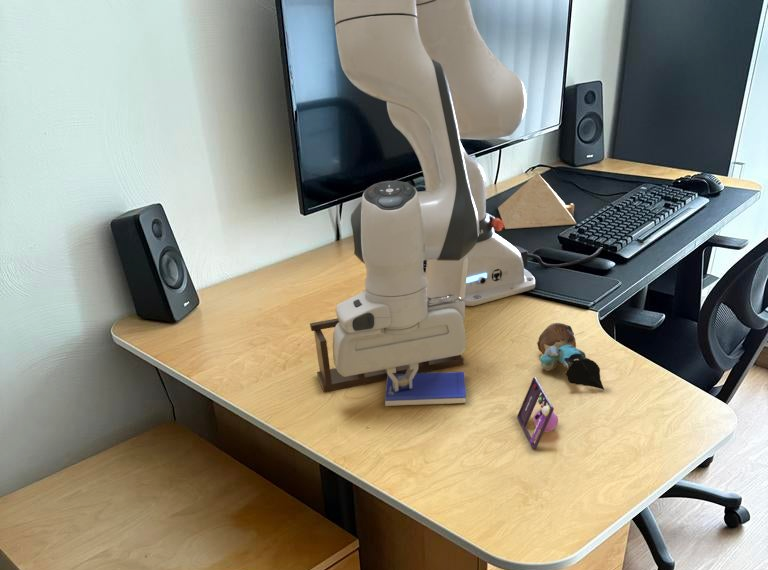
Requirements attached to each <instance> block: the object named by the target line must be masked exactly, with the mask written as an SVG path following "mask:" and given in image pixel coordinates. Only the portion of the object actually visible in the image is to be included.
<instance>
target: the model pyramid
mask: <svg viewBox="0 0 768 570" xmlns="http://www.w3.org/2000/svg"><path fill="white" fill-rule="evenodd" d="M497 210H498V213H499V215H500V219H501V220H502V222H504V223H503V224H504V229H505V230H511V229H524V228H525V229H527V228H541V227H554V226H569V225H577V222H576V220H575V219H574V213H575V204H574V203H573V202H572V203H570V204H566V203H565V202H564V200H562V199H561V197H560V196H559V195H558V194H557V192H556V191H555V190H554V189H553V188H552V187H551V186H550V184H549V183H548V182H547V181H546V180H545V178H543V177H542V176H541V174H540V173H539V172H537V173H535V174H534V176H532V177H531V178H530V179H528V180H527V181H526V182H525V183H524V184H522V186H521V187H519V189H517V190H516V191H515V192H514V193H513V194H512V195H511V196H509V197H508V198H507V199H506V200H505V201H504V202H503V203H502V204H500V205H499V206H498V207H497Z"/></svg>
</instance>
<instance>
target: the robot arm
mask: <svg viewBox="0 0 768 570" xmlns="http://www.w3.org/2000/svg"><path fill="white" fill-rule="evenodd" d="M333 15H334V16H333V17H334V29H335V37H336V38H335V39H336V46H337V52H338V56H339V61H340V66H341V69H342V71H343V73H344V74H345V76H346V77H347V79H348V80H349V81H350V83H351V84H352V85H353V86H354V87H356V88H357V89H358V90H360V91H361V92H363V93H364V94H365V95H368V96H370V97H372V98H375V99H378V100H381V101H383V102H386V110H387V113H388V117H389V120H390V122H391V123H392V125H393V126H394V127H395V129H397V130H398V131H399V132H400V133H401V134H402V135H403V137H405V139H406V140H407V141H408V143H409V144H410V146H411V147H412V149H413V151H414V154H415V155H416V157H417V159H418V161H419V165H420V167H421V171H422V175H423V178H424V186H425V189H424V190H422V191H418V190H417V189H416V188H415V187H414V186H413V184H410V183H408V182H406V181H401V180H385V181H380V182H377V183H374V184H372V185H370V186H368V187H367V188H366V189H365V190H364V192H363V193H362V196H361V201H360V202H359V203H358V205H357V206H356V207H355V208H354V210H353V211H352V213H351V215H350V225H351V229H352V230H351V231H352V237H353V238H352V239H353V247H354V248H353V249H354V250H353V254H354V256H356V257H357V259H359V261H360V262H362V264H364V265H365V270H366V271H365V272H366V276H365V281H364V290H362V291H360V292H359V293H357V294H354V295H353V296H351V297H349V298H347V299H345V300H344V301H341V302H339V303H338V304H336V307H335V313H336V314H335V315H336V318H338V321H339V322H338V323H337V325H336V326H335V327H334V328H333V333H332V334H333V335H332V354H333V355H332V357H333V365H334V367H335V368H336V370H337V371H338V373H340V374H341V375H342V376H344V377H347V376H352V375H357V374H362V373H368V372H373V371H378V370H383V369H385V371H386V373H387V374H388V376H389V377H390V378H391V379H392V386H393V389H394V391H395V392H398V391H402V390H408V389H412V379H413V378H414V376H415V374H416V373H417V371H418V369H419V366H418V363H420V362H426V361H431V360H436V359H441V358H447V357H452V356H457V355H461V356H462V355H463V354H464V352H465V351H466V349H467V335H466V330H465V324H464V319H465V317H466V306H468V307H474V306H478V305H482V304H485V303H488V302H493V301H497V300H500V299H503V298H507V297H511V296H514V295H518V294H522V293H524V292H529V291H531V290H535V288H536V279H535V277H534V275H533V273H531V272H530V271H529V270H527V269H526V267H528V258H532V259H534V260H536V261H537V263H538V264H539V266H540V267H543V268H558V267H570V266H575V265H578V264H581V263H584V262H587V261H590V260H592V259H595V258H597V256H599V255H600V254H601V252H602V251H603V250H605V249H606V248H603V247H601V246H600V247H599V248H598V249H597V250H596V251H595V252H594V253H593V254H591V255H589V256H586V257H582V258H579V259H576V260H573V261H570V262H565V263H559V264H557V263H556V264H553V263H552V264H551V263H547V262H546V263H545V262H543V261H542V259H541V257H540V256H539V255H537V254H534V253H528V250H526V249H524V248H522V247H520V246H518V245H513V244H511V243H510V242H509V241H507V240H506V239H505V238H503V237H502V236H500V235H499V234H497V233H496V232H501V231H503V229H505V227H504V224H503V223H504V222H503V221H502V219H501V218H500V217H495V216H494V215H492V214H489V213H487V210H486V209H487V208H486V207H487V177H486V173H485V171H484V168H483V167H482V165H481V163H479V162H478V161H476V160H475V159H474V158H472V157H471V156H470V155H469V154H468V152H467V151H466V150H465V148H464V147H463V144H462V142H461V140H476V141H477V140H478V141H489V140H494V139H500V138H507V137H510V136H512V135H513V134H514V133H515V132H516V131H517V130H518V128H519V126H520V125H521V124H522V121H523V120H524V116H525V114H526V109H527V93H526V89H525V86H524V83H523V81H522V79H521V78H520V76H519V75H518V74H517V73H515V72H514V71H513V70H511V69H509V68H508V67H506V66H505V65H504V64H503V63H502V62H501V61H500V60H499V59H498V58H497V57H496V56H495V54H493V52H492V51H491V49H490V48H489V47H488V45H487V43H486V42H485V41H484V39H483V37H482V35H481V33H480V32H479V29H478V27H477V25H476V21H475V19H474V16H473V15H474V14H473V11H472V7H471V2H470V0H333ZM495 231H496V232H495ZM634 241H635V242H638V243H639V244H644V243H645V242H644V241H643V239H641V238H640V239H637V240H634ZM424 261H426V266H425V270H424ZM405 365H407V366H408V369H407V371H406V374H405V375H404V376H398V377H396V376H395V375H394V374H393V373H396V367H399V366H405Z"/></svg>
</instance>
